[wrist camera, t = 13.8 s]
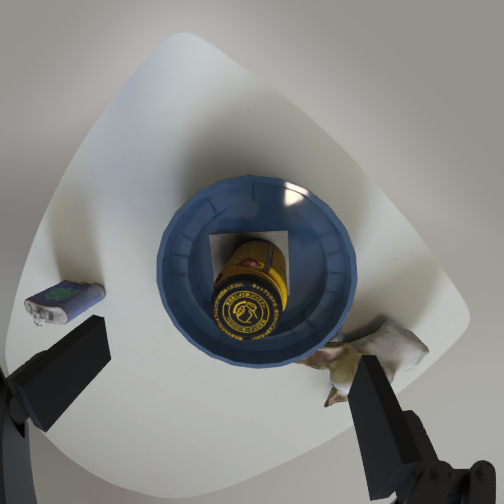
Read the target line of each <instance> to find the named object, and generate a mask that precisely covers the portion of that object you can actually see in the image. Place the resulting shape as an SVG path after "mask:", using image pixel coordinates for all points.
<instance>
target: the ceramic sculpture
mask: <svg viewBox="0 0 504 504" xmlns="http://www.w3.org/2000/svg"><path fill="white" fill-rule="evenodd" d="M428 353H429V350H428V348H427V346H426V345H425V344H424V343H422V342H421V340H420V339H419V338H418V337H417V336H416V335H415V334H414V333H413V332H411V331H409V330H406V329H403V328H401V327H399V326H398V325H397V324H395V323H394V322H393V321H391V320H387V321H385V322H384V323H383V324H382V326H381V327H380V328H379V330H378V331H377V332H375V333H374V334H371V335H368V336H366V337H364V338H361V339H358V340H355V341H353V342H351V343H347V342H327V343H326V344H325V345H324V346H323V347H321V348H320V349H318V350H317V351H315V352H314V353H312V354H311V355H309V356H307V357H306V358H304V359H302V360H299V361H296V362H293V363H299V364H304V365H307V366H310V367H312V368H315V369H323V370H325V369H329V370H330V379H331V382H332V385H333V388H332V389H331V391H330V393H329V396H328V398H327V400H326V402H325V404H324V407H328V406H331V405H332V404H334V403H337V402H345V401H347V400H348V398H347V395H348V393H349V390H350V387H351V385H352V382H353V379H354V376H355V374H356V371H357V368H358V365H359V362H360V359H361V356H362V355H376V356H377V358H378V360H379V362H380V364H381V366H382V368H383V370H384V372H385V375H386V377H387V379H388V381H389V383H390V384H391V383H392V381H393V379H394V376H395V375H397V374H398V373H401V372H404V371H408V370H411V369H413V368H414V367H415V366H417V365H418V364H419V363H420V362H421V360H422V359H423V357H424V356H425V355H426V354H428Z"/></svg>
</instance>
